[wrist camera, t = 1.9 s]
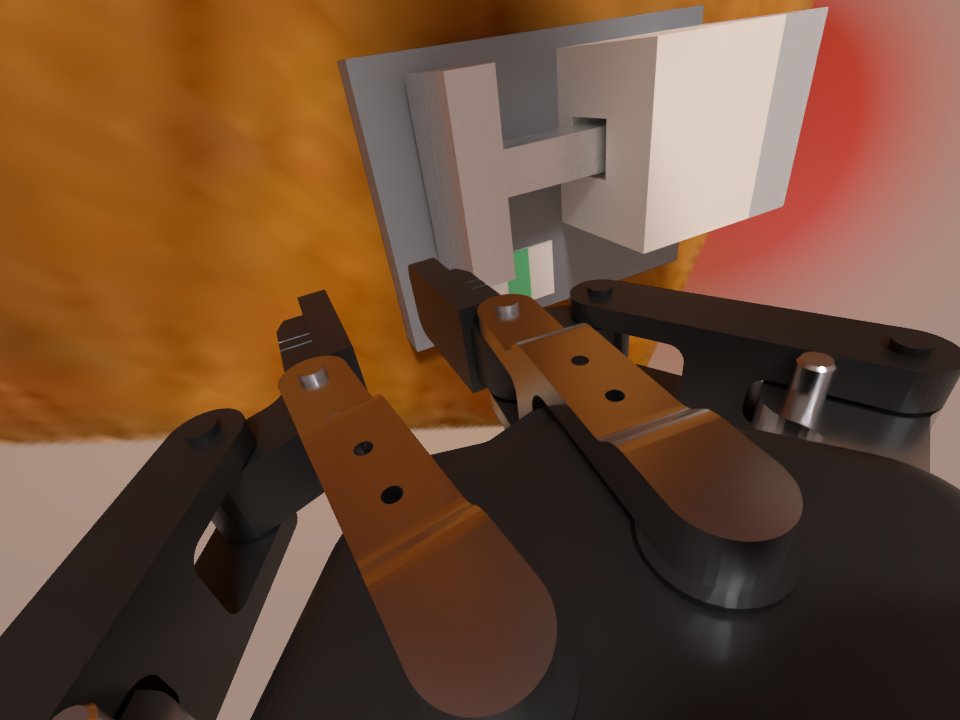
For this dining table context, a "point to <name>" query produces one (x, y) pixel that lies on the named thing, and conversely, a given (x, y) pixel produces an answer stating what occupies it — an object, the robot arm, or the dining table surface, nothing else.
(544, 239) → the stand
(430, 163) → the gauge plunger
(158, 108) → the dining table surface
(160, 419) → the dining table surface
